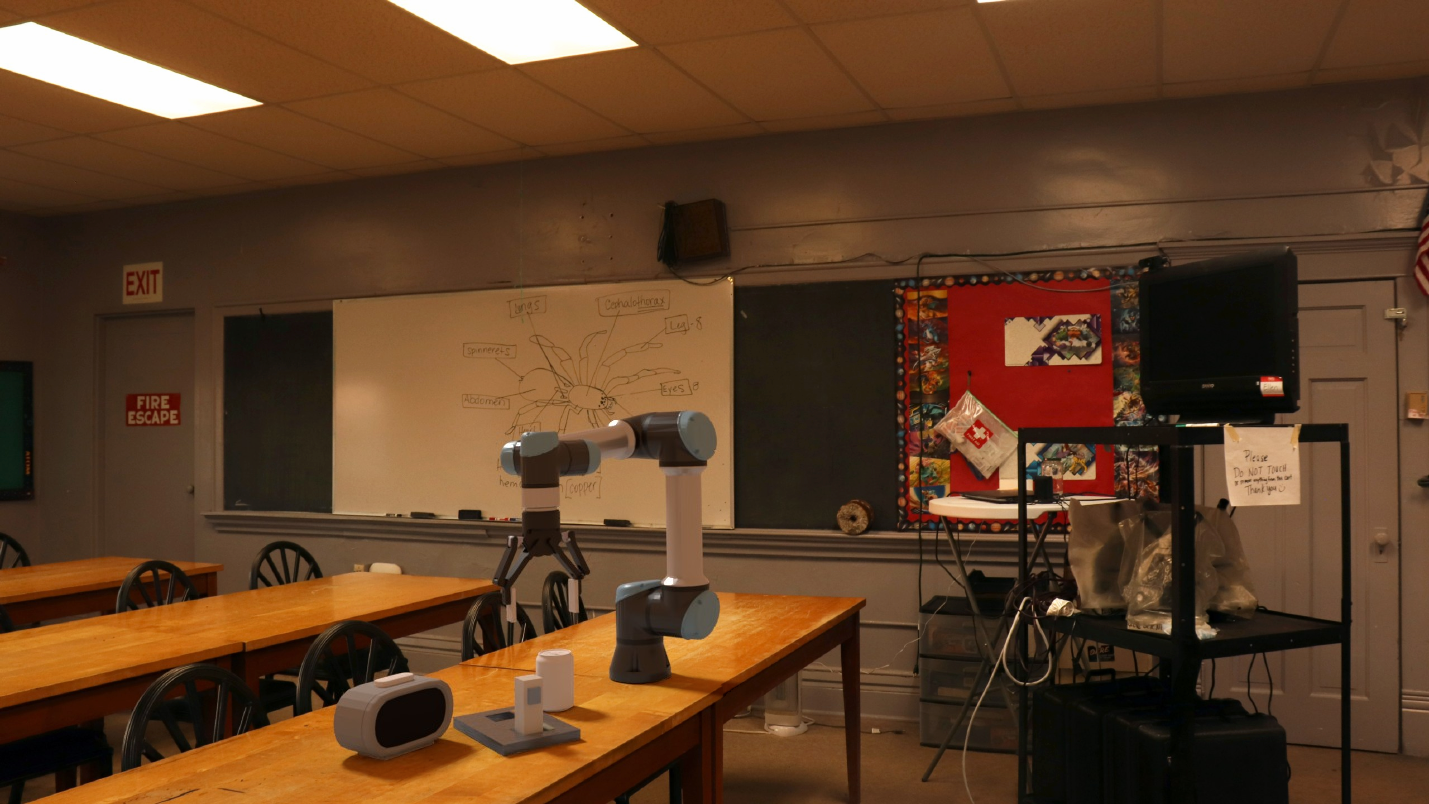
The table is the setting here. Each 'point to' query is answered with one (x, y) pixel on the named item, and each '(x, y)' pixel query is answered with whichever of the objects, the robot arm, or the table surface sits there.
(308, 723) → the table surface
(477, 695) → the table surface
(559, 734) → the panel
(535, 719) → the plug
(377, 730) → the alarm clock
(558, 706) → the beverage can
